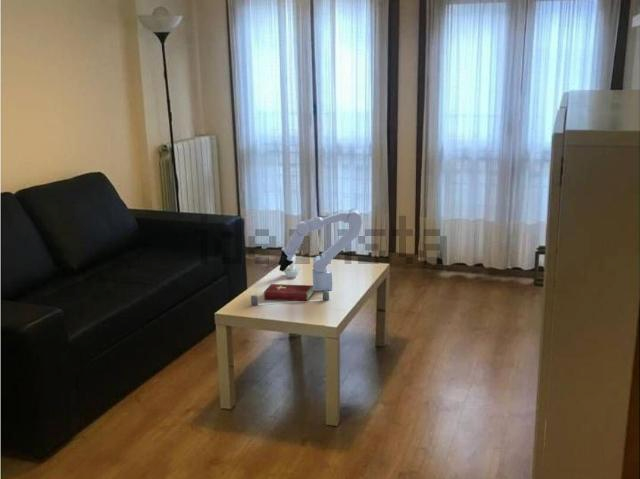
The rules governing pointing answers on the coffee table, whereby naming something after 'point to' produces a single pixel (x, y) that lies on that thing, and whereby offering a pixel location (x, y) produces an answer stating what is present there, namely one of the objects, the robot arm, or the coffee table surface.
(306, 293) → the hardcover book
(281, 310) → the coffee table surface
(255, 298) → the strip
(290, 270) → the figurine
